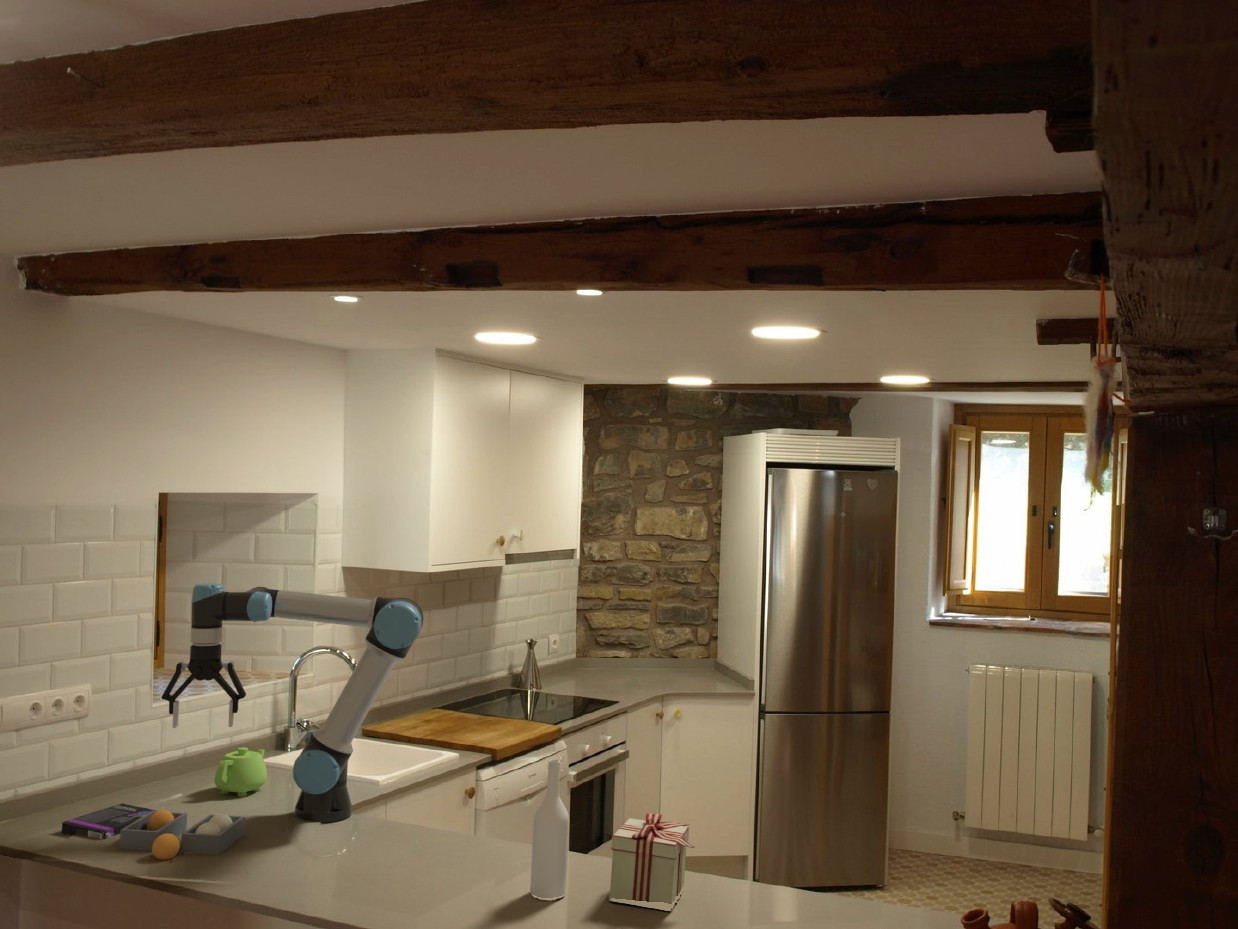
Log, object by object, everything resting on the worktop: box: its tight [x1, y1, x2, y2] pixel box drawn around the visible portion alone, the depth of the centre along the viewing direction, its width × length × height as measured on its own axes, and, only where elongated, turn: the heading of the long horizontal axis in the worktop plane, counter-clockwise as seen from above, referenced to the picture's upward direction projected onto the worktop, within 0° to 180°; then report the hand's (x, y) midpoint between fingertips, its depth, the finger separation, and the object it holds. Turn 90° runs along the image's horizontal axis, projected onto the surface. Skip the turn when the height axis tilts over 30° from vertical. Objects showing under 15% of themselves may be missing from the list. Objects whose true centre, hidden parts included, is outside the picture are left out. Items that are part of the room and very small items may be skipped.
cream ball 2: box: [209, 813, 233, 832], centre depth 261 cm, size 6×6×6 cm
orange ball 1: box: [148, 809, 174, 831], centre depth 262 cm, size 6×6×6 cm
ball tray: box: [119, 810, 246, 863], centre depth 255 cm, size 26×22×5 cm
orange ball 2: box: [151, 833, 181, 861], centre depth 247 cm, size 6×6×6 cm
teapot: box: [214, 746, 268, 798], centre depth 304 cm, size 20×13×13 cm
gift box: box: [609, 813, 696, 904], centre depth 238 cm, size 17×18×17 cm
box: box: [61, 802, 157, 841], centre depth 268 cm, size 14×4×20 cm
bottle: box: [529, 759, 570, 898], centre depth 237 cm, size 8×8×30 cm
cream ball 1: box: [195, 822, 221, 835], centre depth 254 cm, size 6×6×6 cm
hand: (203, 726), depth 270 cm, fingers open, 13 cm apart
